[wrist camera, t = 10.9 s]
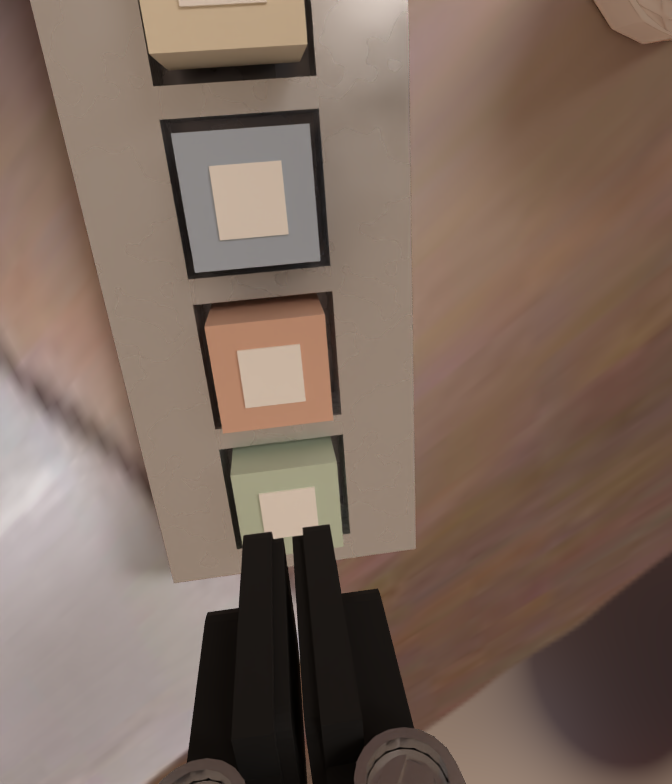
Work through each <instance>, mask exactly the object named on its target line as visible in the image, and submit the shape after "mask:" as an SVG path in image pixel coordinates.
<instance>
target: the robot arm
mask: <svg viewBox="0 0 672 784" xmlns="http://www.w3.org/2000/svg"><path fill="white" fill-rule="evenodd" d="M302 529H303V535H301V536H293V537H292V543H293V558H294V573H295V588H296V603H297V619H298V634H299V649H300V663H299V650H298V640H297V632H296V625H295V617H294V610H293V603H292V595H291V588H290V581H289V573H288V566H287V559H286V551H285V544H284V538H278V539H273V534H272V532H265V533H257V534H249V535H244V536H243V546H242V563H241V580H240V597H239V608H235V609H228V610H221V611H214V612H208V613H207V615H206V620H205V625H204V633H203V641H202V649H201V657H200V664H199V672H198V680H197V688H196V696H195V703H194V711H193V719H192V727H191V735H190V742H189V750H188V758H187V763H186V764H184V765H182V766H180V767H178V768H176V769H174V770H173V771H172V772H171V773H170V774H168V775H167V776H166V777H165V778H163V779H162V780H161V781H160V783H159V784H307V773H306V757H305V741H304V726H303V710H302V695H303V709H304V721H305V731H306V739H307V746H308V753H309V761H310V768H311V775H312V782H313V784H466V783H465V780H464V778H463V776H462V774H461V772H460V770H459V768H458V765H457V763H456V761H455V760H454V758H453V757H452V755H451V754H450V752H449V750H448V749H447V747H445V746H444V745H443V744H442V743H441V742H440V741H439V740H437V739H436V738H435V737H434V736H432V735H430V734H428V733H426V732H424V731H422V730H419V729H414V726H413V722H412V718H411V714H410V711H409V707H408V703H407V699H406V695H405V691H404V687H403V683H402V679H401V675H400V671H399V667H398V663H397V659H396V655H395V651H394V647H393V643H392V639H391V635H390V631H389V627H388V623H387V620H386V616H385V612H384V608H383V604H382V600H381V596H380V593H379V590H378V589H372V590H365V591H358V592H350V593H343V594H341V588H340V582H339V576H338V570H337V564H336V558H335V552H334V546H333V540H332V534H331V528H330V524H326V525H319V526H311V527H303V528H302ZM300 664H301V679H302V695H301V679H300Z"/></svg>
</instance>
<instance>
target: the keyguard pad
mask: <svg viewBox="0 0 672 784" xmlns="http://www.w3.org/2000/svg"><path fill="white" fill-rule="evenodd" d="M30 3H31V7H32V11H33V15H34V19H35V23H36V27H37V31H38V35H39V39H40V43H41V47H42V51H43V55H44V59H45V63H46V67H47V71H48V75H49V79H50V84H51V88H52V92H53V96H54V100H55V104H56V108H57V112H58V116H59V120H60V124H61V128H62V132H63V136H64V140H65V144H66V148H67V152H68V156H69V160H70V165H71V169H72V173H73V177H74V181H75V185H76V189H77V193H78V197H79V201H80V205H81V209H82V213H83V217H84V221H85V225H86V229H87V233H88V237H89V241H90V245H91V250H92V254H93V258H94V262H95V266H96V270H97V274H98V278H99V282H100V286H101V290H102V294H103V298H104V302H105V306H106V310H107V314H108V318H109V322H110V326H111V330H112V335H113V339H114V343H115V347H116V351H117V355H118V359H119V363H120V367H121V371H122V375H123V379H124V383H125V387H126V391H127V395H128V399H129V403H130V407H131V411H132V415H133V420H134V424H135V428H136V432H137V436H138V440H139V444H140V448H141V452H142V456H143V460H144V464H145V468H146V472H147V476H148V480H149V484H150V488H151V492H152V496H153V500H154V505H155V509H156V513H157V517H158V521H159V525H160V529H161V533H162V537H163V541H164V545H165V549H166V553H167V557H168V561H169V565H170V569H171V573H172V577H173V581H174V583H179V582H186V581H193V580H200V579H207V578H214V577H221V576H228V575H235V574H241V563H242V546H243V545H242V539H241V534H240V528H239V522H238V517H237V511H236V505H235V499H234V494H233V488H232V482H231V477H230V475H231V464H232V453H233V448H236V447H244V446H252V445H261V444H269V443H277V442H285V441H293V440H301V439H309V438H318V437H326V436H330V437H331V441H332V445H333V449H334V453H335V457H336V461H337V471H338V483H339V495H340V508H341V520H342V533H343V545H344V547H337V548H334V552H335V558H336V560H340V559H347V558H354V557H361V556H368V555H375V554H382V553H389V552H396V551H403V550H410V549H416V531H415V458H414V386H413V313H412V240H411V168H410V95H409V22H408V0H304V5H305V18H306V31H307V47H306V49H305V51H304V53H303V56H302V58H301V60H300V62H292V63H276V64H260V65H245V66H229V67H213V68H197V69H181V70H167V69H166V68H165V67H163V66H162V65H161V64H160V63H159V62H158V61H157V60H155V59H154V58H153V57H152V56H151V55H150V54H149V51H148V46H147V40H146V34H145V29H144V23H143V18H142V12H141V7H140V1H139V0H30ZM308 123H309V125H310V137H311V149H312V162H313V174H314V187H315V199H316V211H317V224H318V236H319V248H320V261H315V262H304V263H294V264H283V265H273V266H262V267H252V268H241V269H231V270H220V271H210V272H199V273H195V270H194V264H193V258H192V253H191V247H190V241H189V235H188V230H187V224H186V218H185V213H184V207H183V201H182V195H181V190H180V184H179V178H178V172H177V167H176V161H175V155H174V150H173V144H172V138H171V133H185V132H199V131H212V130H226V129H240V128H253V127H267V126H281V125H294V124H308ZM308 293H317V296H318V298H319V301H320V303H321V306H322V308H323V311H324V314H325V322H326V335H327V347H328V360H329V372H330V384H331V397H332V409H333V421H324V422H316V423H308V424H299V425H291V426H283V427H275V428H266V429H258V430H250V431H241V432H233V433H225V434H223V430H222V425H221V419H220V413H219V408H218V402H217V396H216V390H215V385H214V379H213V373H212V367H211V362H210V356H209V350H208V345H207V339H206V333H205V323H206V320H207V317H208V314H209V311H210V308H211V304H212V303H218V302H228V301H238V300H248V299H258V298H268V297H278V296H288V295H298V294H308ZM286 559H287V566H288V567H291V566H294V558H293V554H287V555H286Z"/></svg>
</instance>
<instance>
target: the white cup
mask: <svg viewBox="0 0 672 784" xmlns="http://www.w3.org/2000/svg"><path fill="white" fill-rule="evenodd" d="M594 2H595V4H596V5H597V7H598V8H599V10H600V12H601V13H602V15H603V16H604V18H605V20H606V21H607V23H608V24H609V26H610V28H611V29H612V30H614V31H616V32H618V33H620V34H623V35H625V36H627V37H629V38H631V39H633V40H635V41H637V42H639V43H641V44H648V43H656V42H663V41H671V40H672V0H594Z"/></svg>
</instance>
